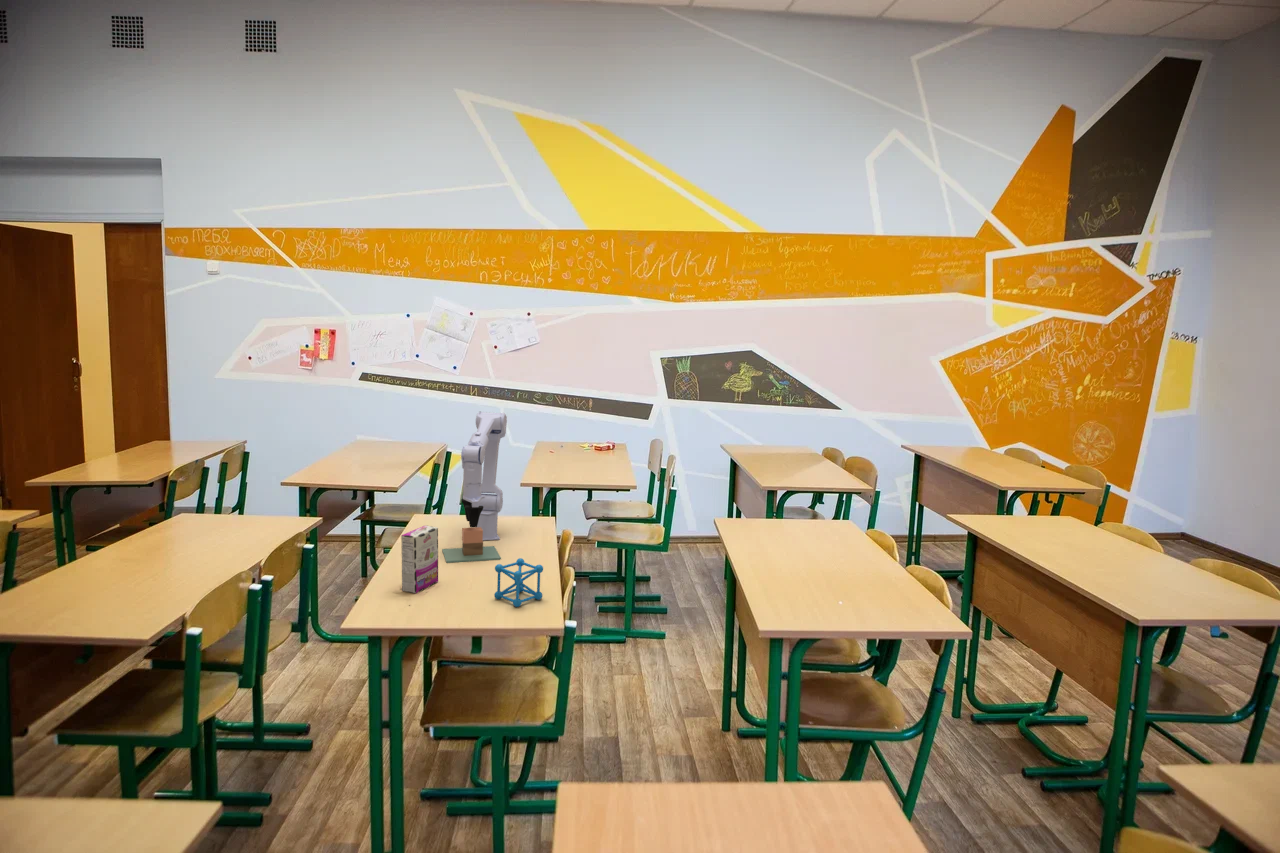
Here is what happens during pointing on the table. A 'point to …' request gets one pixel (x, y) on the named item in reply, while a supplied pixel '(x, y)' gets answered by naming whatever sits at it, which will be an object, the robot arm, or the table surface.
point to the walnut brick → (472, 549)
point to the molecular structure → (518, 582)
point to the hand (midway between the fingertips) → (471, 523)
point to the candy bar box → (419, 559)
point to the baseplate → (457, 555)
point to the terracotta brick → (472, 535)
